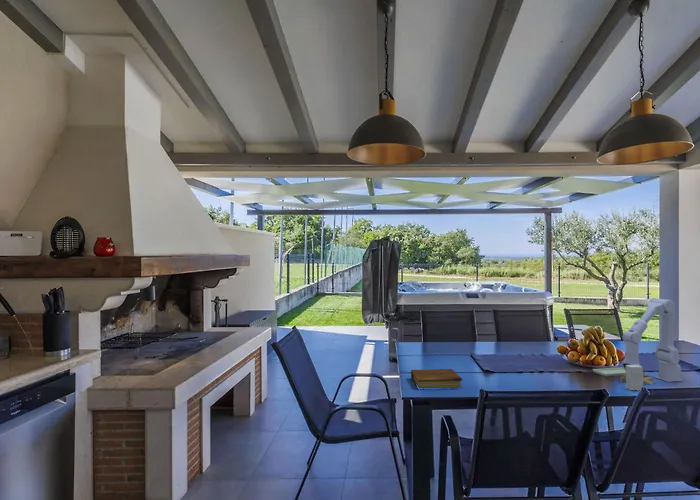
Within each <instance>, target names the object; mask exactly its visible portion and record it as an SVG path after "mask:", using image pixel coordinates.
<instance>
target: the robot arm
mask: <svg viewBox="0 0 700 500" xmlns="http://www.w3.org/2000/svg"><path fill="white" fill-rule="evenodd" d="M675 310H676V303H675V302H674V301H673V300H672V299H663V298H657V297H651V298H650V299H649V301H648V303H647V308H646V309H645V312H644V313H643V315H642V316H641V318H640V319H636V320H635V321H634V323H632V325H631V326H630V328H629V329H628V330H626V331H624V332H623V333H622V340H623V341H624V343H623V344H625V358H623V363H622V366H623V368H625V370H626V365H639V366H641V364H640V361H639V360H640V358H639V357H640V356H639V355H640V354H639V353H640V352H639V343H640V342H641V341H642V337H643V333H644V332H645V331H646V330H647V329H648V323H649V322H650V320H652V319H653V318H654V317H655V315H656V314H660V315H661V331H660V332H661V333H660V335H661V336H660V344H659V345H657V346H656V350H655V352H654V358H655V359H656V360H657V362H658V376H657V375H656V376H654V378H656V379H659V380H661V381H665V382H668V383H669V382H670V383H671V382H683V381H684V379H682V368H681V365H680V364H679V363H680V353H679V350H678V348H676V347H675V345H674V344H675V343H674V342H675V324H676V321H675V320H676V311H675Z"/></svg>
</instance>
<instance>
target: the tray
mask: <svg viewBox="0 0 700 500" xmlns="http://www.w3.org/2000/svg"><path fill="white" fill-rule="evenodd" d="M592 372H593V373H595V374H597V375H600V376H602V377H605V378H607V377H609V378H610V377H622V374H626V370H625V368H624V366H623V367H608V368H592Z"/></svg>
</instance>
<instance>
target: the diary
mask: <svg viewBox="0 0 700 500" xmlns="http://www.w3.org/2000/svg"><path fill="white" fill-rule="evenodd" d="M410 377H411V378H410V379H411V381H412V380H413V381H412V382H413V384H414V383H415V384H417V385H418V387H419V388H461V387H462V385H461V383H462V381H463V378H462V377H461V376H460V375H459V374H458V373H457V372H456V371H455V370H453V368H440V369H437V368H435V369H411V371H410ZM415 384H414V385H415ZM417 385H416V386H417ZM416 386H415V387H416Z"/></svg>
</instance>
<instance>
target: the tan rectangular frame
mask: <svg viewBox="0 0 700 500" xmlns="http://www.w3.org/2000/svg"><path fill="white" fill-rule="evenodd" d="M619 381H620V383H626V374H622V376H619ZM653 382H654V380H653V377H651V376H649V375H648V374H645V377H643V385H653V384H654V383H653Z"/></svg>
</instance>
